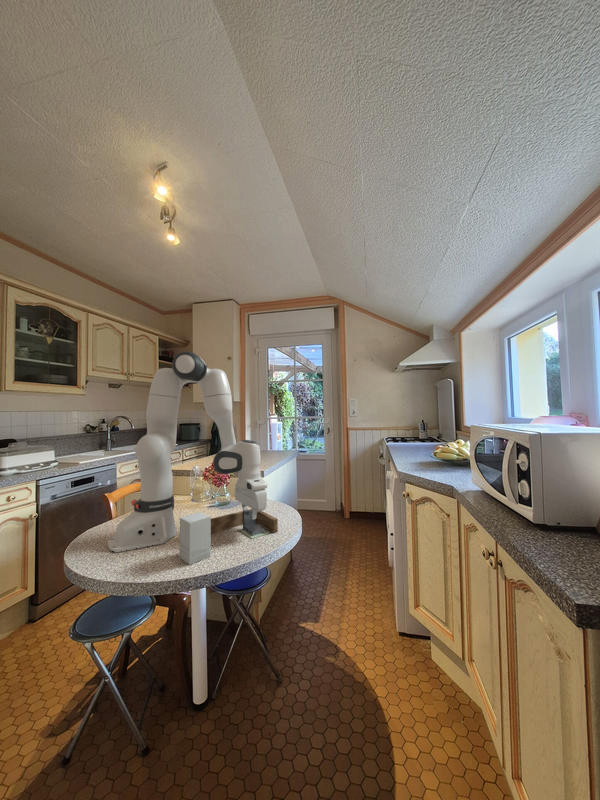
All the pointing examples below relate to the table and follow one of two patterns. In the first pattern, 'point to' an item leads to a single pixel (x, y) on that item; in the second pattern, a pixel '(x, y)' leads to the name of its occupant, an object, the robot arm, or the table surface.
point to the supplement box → (195, 537)
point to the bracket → (251, 524)
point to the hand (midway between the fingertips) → (249, 516)
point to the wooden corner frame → (237, 520)
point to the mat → (255, 535)
